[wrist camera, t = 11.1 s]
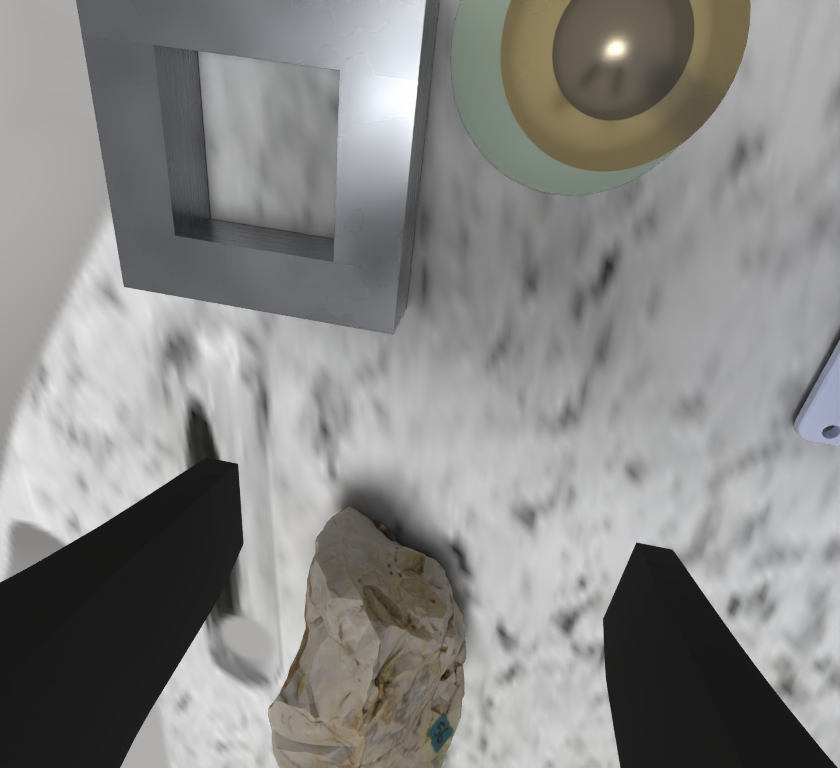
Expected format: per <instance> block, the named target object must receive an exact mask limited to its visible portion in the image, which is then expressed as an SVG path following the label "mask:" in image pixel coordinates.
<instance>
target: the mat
mask: <svg viewBox="0 0 840 768" xmlns="http://www.w3.org/2000/svg"><path fill="white" fill-rule="evenodd" d="M510 1H511V0H461V2H460V6H459V9H458V12H457V16H456V19H455V25H454V31H453V36H452V46H451V77H452V84H453V90H454V96H455V100H456V103H457V107H458V110H459V114H460V116H461V119H462V121H463V123H464V126H465V128H466V130H467V132H468V134H469V135H470V137H471V139H472V140H473V142H474V144H475V145H476V147H477V148H478V149H479V150H480V152H481V153H482V154H483V156H484V157H485V158H486V159H487V160H488V161H489V162H490V163H491V164H492V165H493V166H494V167H495V168H496V169H498V170H499V171H500V172H502V173H503V174H504V175H506V176H507V177H508V178H510V179H512V180H514V181H516V182H517V183H519V184H521V185H523V186H526V187H528V188H531V189H534V190H536V191H540V192H545V193H549V194H555V195H568V196H571V195H587V194H592V193H598V192H603V191H606V190H609V189H612V188H615V187H618V186H621V185H623V184H625V183H627V182H630V181H632V180H634V179H636V178H637V177H639V176H641V175H642V174H644V173H646V172H648V171H649V170H651V169H652V168H653V167H655V166H656V165H657V164H659V163H660V162H661V161H663V160H664V159H665V158H666V157H667V156H668V155H669V154H671V153H672V152H673V151H674V150H675V149H676V148H677V147H676V148H675V149H673V150H672V151H670V152H668V153H667V154H665V155H663V156H662V157H660V158H657V159H655V160H653V161H651V162H649V163H646V164H643V165H640V166H637V167H634V168H630V169H625V170H619V171H607V172H599V171H587V170H583V169H578V168H574V167H571V166H568V165H566V164H563V163H561V162H559V161H557V160H555V159H553V158H552V157H550V156H548V155H547V154H546V153H544V152H543V151H542V150H540V149H539V148H538V147H537V146H536V145H535V144H534V143H533V142H532V141H531V140H530V139H529V138H528V137H527V136H526V134H525V133H524V132H523V130H522V129H521V128H520V126H519V124H518V123H517V121H516V119H515V117H514V115H513V114H512V111H511V109H510V106H509V104H508V101H507V98H506V94H505V90H504V86H503V82H502V74H501V52H500V50H501V40H502V31H503V27H504V22H505V18H506V13H507V10H508V7H509V4H510Z"/></svg>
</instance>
